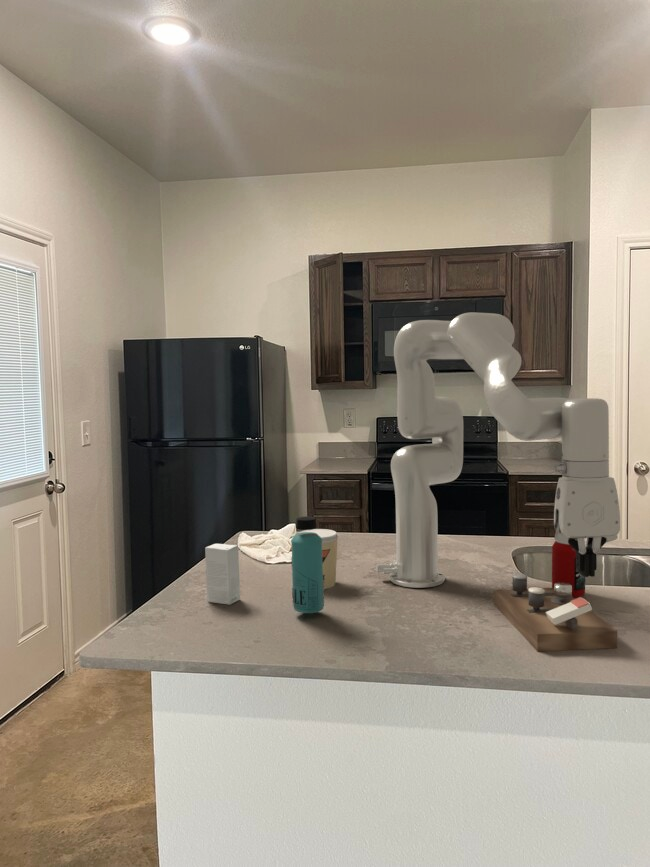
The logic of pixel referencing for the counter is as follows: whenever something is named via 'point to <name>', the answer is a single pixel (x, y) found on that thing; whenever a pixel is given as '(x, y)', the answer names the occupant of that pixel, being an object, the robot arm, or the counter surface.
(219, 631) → the counter surface
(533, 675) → the counter surface
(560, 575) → the beverage can
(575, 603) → the block
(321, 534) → the coffee cup
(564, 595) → the button
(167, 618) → the counter surface
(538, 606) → the lever ivory
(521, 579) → the lever grey
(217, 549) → the skincare box
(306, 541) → the beverage bottle
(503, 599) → the console
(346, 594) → the counter surface
